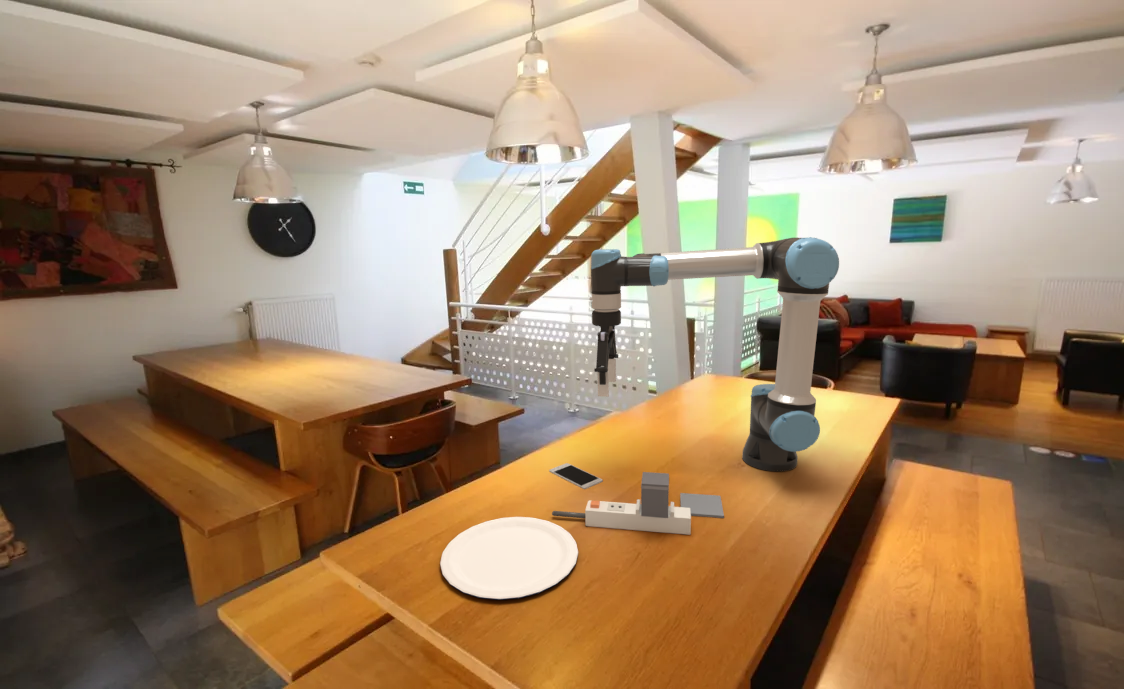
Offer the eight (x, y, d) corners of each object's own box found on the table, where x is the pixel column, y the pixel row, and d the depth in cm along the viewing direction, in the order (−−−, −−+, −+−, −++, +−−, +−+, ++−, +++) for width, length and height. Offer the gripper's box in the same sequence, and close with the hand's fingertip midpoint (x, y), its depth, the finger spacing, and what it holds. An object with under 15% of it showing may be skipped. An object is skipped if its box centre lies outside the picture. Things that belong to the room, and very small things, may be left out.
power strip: (689, 523, 124) (690, 503, 123) (690, 534, 119) (691, 513, 118) (554, 512, 130) (553, 493, 129) (550, 522, 126) (549, 502, 125)
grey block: (668, 504, 125) (669, 473, 123) (668, 518, 119) (668, 485, 117) (642, 502, 126) (642, 471, 124) (641, 516, 120) (641, 483, 118)
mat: (720, 497, 135) (720, 495, 135) (723, 518, 126) (724, 515, 125) (680, 495, 137) (680, 492, 137) (680, 514, 128) (680, 512, 127)
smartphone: (567, 465, 158) (567, 462, 158) (603, 482, 146) (603, 479, 146) (548, 472, 153) (548, 469, 153) (584, 491, 142) (584, 487, 142)
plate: (525, 626, 93) (525, 618, 93) (410, 574, 108) (409, 567, 108) (602, 543, 117) (602, 536, 117) (499, 511, 133) (499, 504, 132)
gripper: (599, 303, 149) (600, 375, 154) (582, 317, 126) (584, 402, 130) (626, 303, 148) (626, 376, 152) (614, 317, 124) (615, 403, 128)
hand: (607, 388), depth 141 cm, fingers open, 13 cm apart
